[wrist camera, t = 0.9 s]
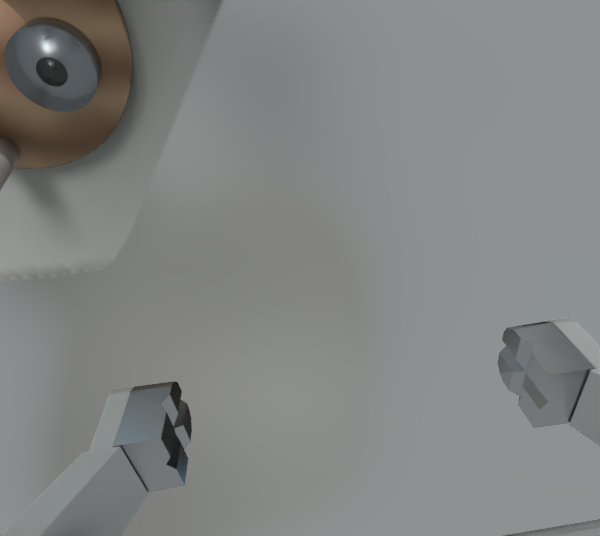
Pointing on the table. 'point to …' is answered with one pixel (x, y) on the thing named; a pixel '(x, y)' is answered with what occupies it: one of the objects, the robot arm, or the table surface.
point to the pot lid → (53, 64)
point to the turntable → (52, 124)
